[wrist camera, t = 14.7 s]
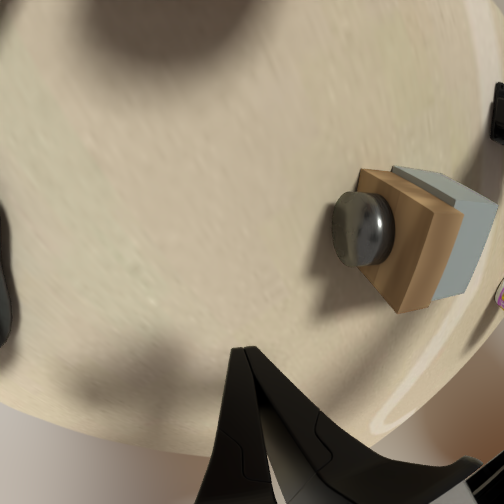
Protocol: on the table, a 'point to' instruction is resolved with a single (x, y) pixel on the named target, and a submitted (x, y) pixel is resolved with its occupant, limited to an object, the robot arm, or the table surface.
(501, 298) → the supplement bottle
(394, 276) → the block
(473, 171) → the table surface
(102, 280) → the table surface
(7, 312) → the casserole
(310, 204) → the table surface
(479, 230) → the block
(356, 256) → the shaft
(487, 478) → the robot arm
